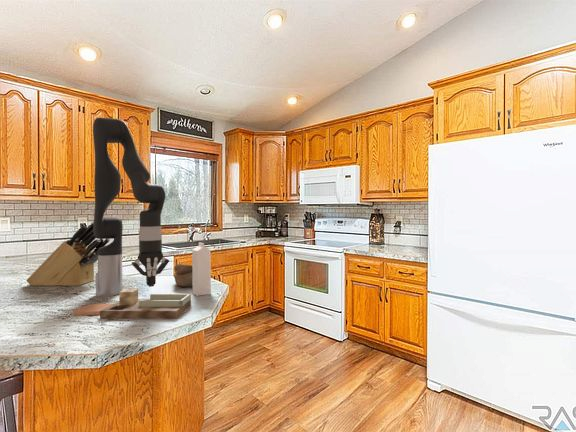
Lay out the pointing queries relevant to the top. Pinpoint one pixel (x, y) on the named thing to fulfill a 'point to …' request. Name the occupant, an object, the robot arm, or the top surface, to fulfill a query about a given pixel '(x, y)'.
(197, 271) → the milk
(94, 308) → the tile
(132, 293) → the block
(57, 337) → the top surface
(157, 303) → the grey green shallow tray
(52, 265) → the knife block
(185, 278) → the bowl
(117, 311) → the dark brown flat tray
